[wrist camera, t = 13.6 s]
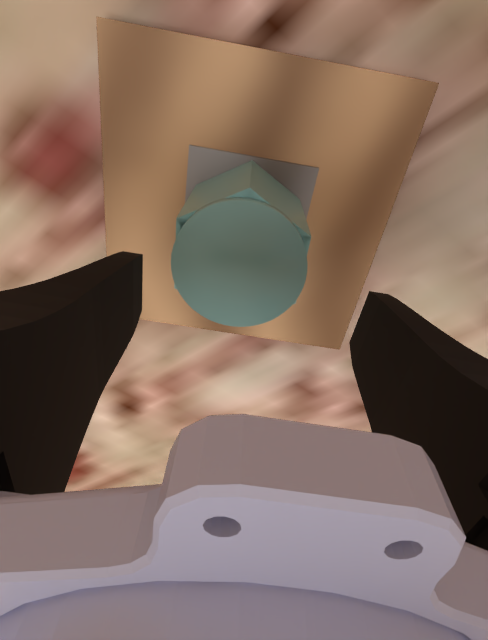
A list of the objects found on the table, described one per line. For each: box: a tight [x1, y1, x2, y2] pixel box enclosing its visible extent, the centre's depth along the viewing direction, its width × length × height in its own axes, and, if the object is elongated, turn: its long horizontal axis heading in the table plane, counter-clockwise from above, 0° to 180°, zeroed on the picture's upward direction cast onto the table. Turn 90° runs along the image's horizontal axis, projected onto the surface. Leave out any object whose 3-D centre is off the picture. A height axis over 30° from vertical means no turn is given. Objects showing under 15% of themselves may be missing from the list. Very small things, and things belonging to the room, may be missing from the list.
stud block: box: [96, 17, 439, 349], centre depth 18 cm, size 14×14×5 cm
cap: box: [171, 160, 311, 327], centre depth 17 cm, size 5×6×6 cm
